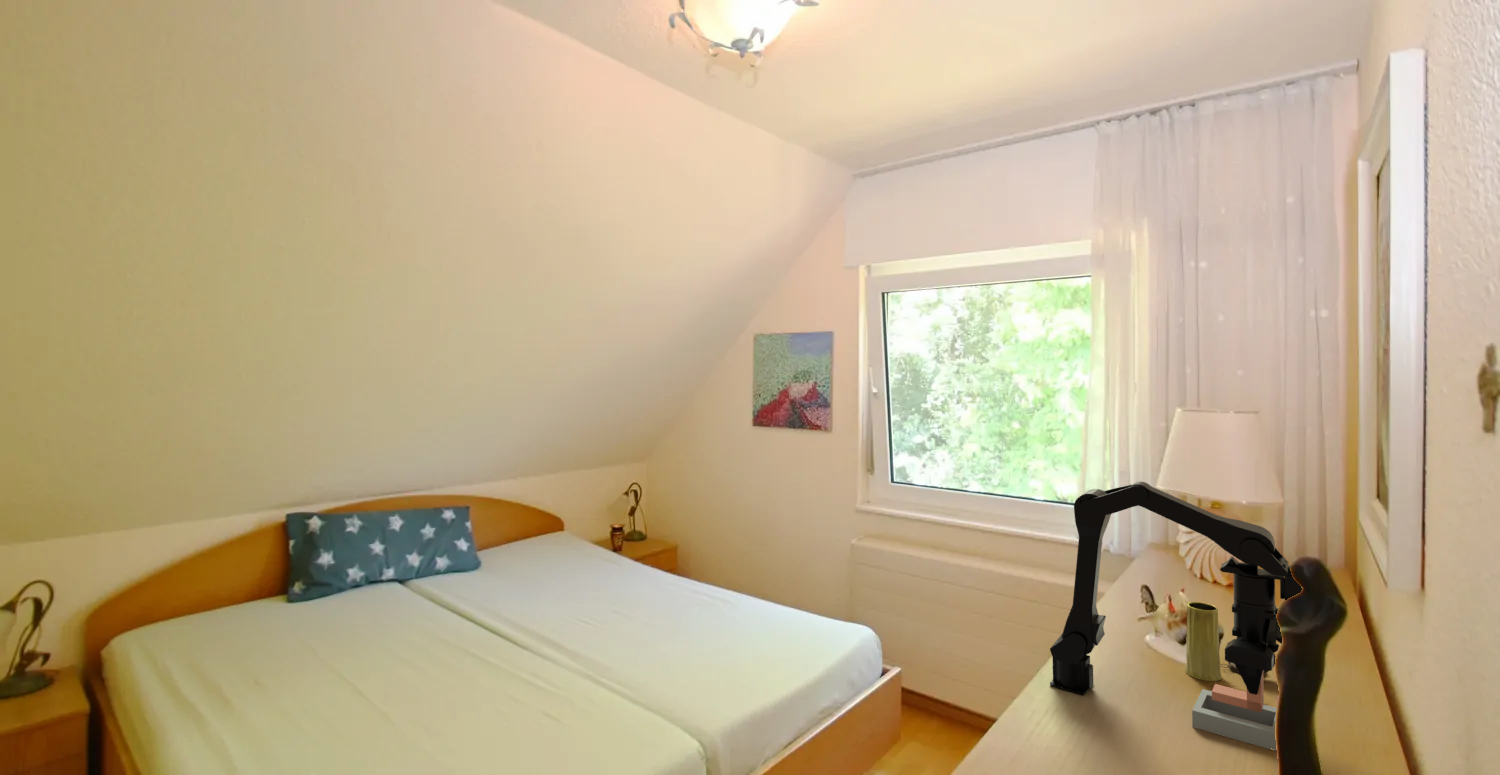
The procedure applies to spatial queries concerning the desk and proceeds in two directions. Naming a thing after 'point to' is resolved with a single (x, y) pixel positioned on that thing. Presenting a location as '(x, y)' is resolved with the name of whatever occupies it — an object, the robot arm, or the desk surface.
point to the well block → (1235, 721)
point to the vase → (1203, 642)
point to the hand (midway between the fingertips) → (1254, 689)
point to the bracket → (1240, 697)
